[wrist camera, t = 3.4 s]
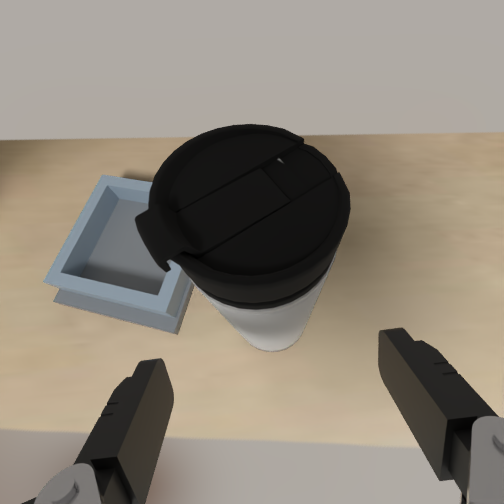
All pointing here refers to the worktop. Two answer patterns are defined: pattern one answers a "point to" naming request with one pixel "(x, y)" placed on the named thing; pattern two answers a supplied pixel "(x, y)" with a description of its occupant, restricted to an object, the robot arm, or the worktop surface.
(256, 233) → the travel mug
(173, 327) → the light blue open tray
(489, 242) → the worktop surface
